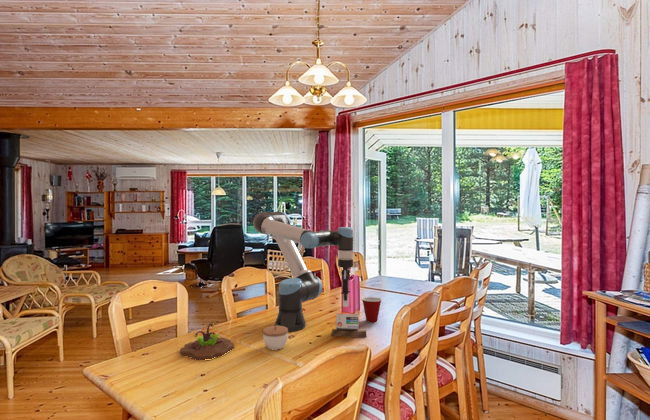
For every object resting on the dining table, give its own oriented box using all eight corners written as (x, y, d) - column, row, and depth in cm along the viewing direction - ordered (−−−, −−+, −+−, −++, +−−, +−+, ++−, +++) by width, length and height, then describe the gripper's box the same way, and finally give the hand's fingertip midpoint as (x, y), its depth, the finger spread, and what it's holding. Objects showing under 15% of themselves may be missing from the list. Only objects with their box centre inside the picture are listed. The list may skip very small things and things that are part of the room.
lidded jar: (264, 353, 149) (264, 331, 149) (261, 344, 159) (261, 323, 159) (290, 351, 152) (289, 328, 152) (285, 341, 162) (285, 320, 162)
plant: (242, 347, 157) (242, 322, 156) (206, 365, 140) (206, 336, 140) (210, 338, 167) (210, 314, 167) (173, 354, 150) (173, 327, 150)
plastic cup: (381, 317, 196) (381, 295, 196) (382, 324, 185) (382, 301, 185) (361, 317, 197) (361, 295, 197) (361, 323, 186) (361, 300, 186)
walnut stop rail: (332, 335, 169) (332, 330, 169) (332, 334, 171) (332, 329, 171) (366, 337, 167) (366, 331, 167) (366, 335, 169) (366, 330, 169)
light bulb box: (358, 317, 178) (359, 313, 168) (358, 331, 175) (359, 328, 166) (336, 316, 179) (336, 312, 169) (336, 330, 176) (335, 328, 166)
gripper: (352, 260, 171) (352, 310, 171) (353, 256, 183) (353, 303, 184) (336, 260, 171) (336, 310, 172) (339, 256, 184) (339, 302, 185)
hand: (345, 306), depth 178 cm, fingers closed
